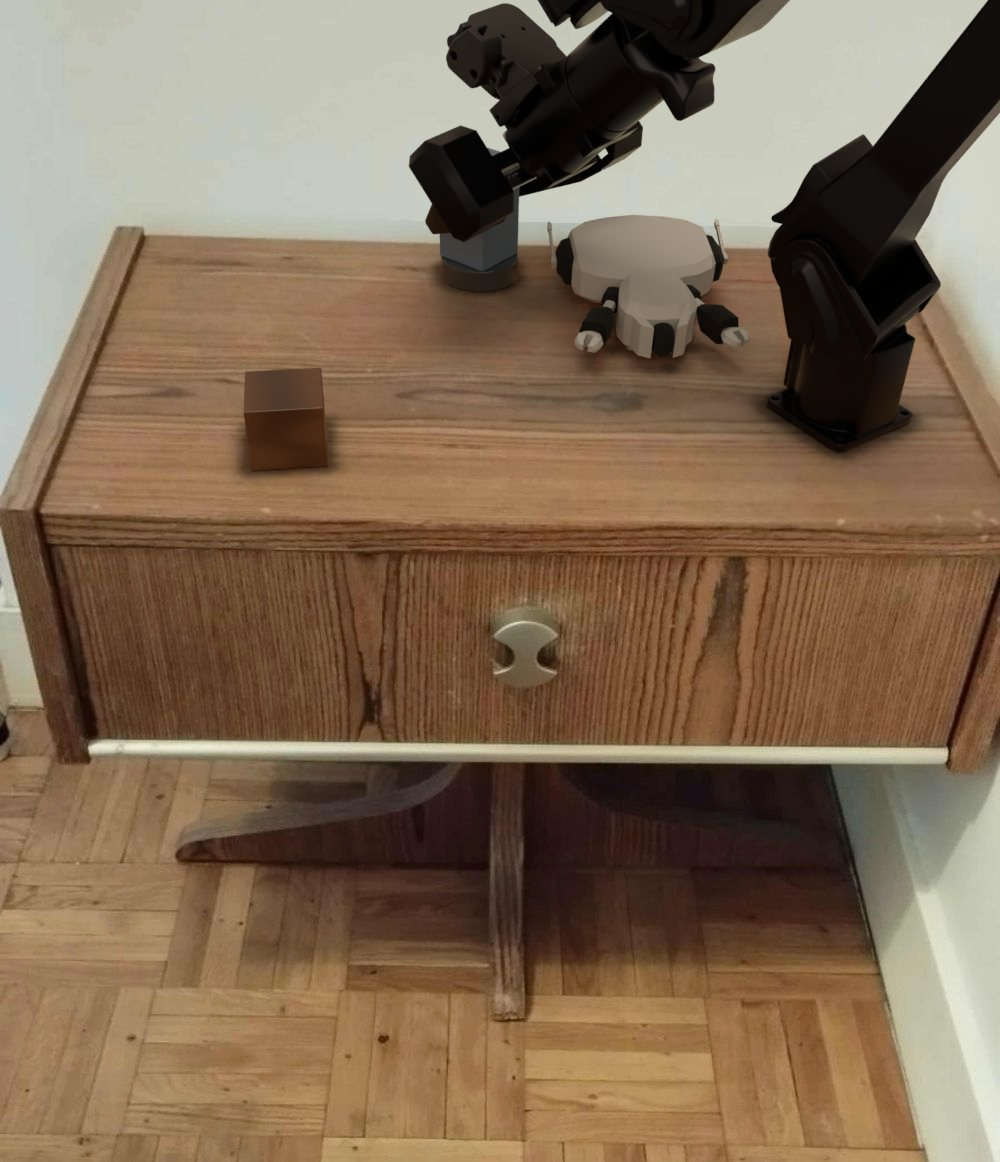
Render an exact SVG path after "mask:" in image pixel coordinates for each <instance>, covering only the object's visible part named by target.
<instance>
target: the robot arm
mask: <svg viewBox="0 0 1000 1162" xmlns="http://www.w3.org/2000/svg"><path fill="white" fill-rule="evenodd" d="M790 1H791V0H537V2H538V4H539V5H540V8H541V9H542V11H543V12H544V13H545V15H546V17H547V19H548V20H549V22H550V23H551V24H552V25H553V26H554V27H555V28H557V27H558V26H560V25H562V24H563V23H565V22H566V21H567V20H569V21H570V23H571V25H572V26H573V28H574V29H575V30H579V29H581V28H584V27H587V26H588V25H590V24H592V23H594V22H595V21H597V20H598V19H600V18H601V17H603V16H604V15H605V14H607V13H608V12H610V13H611V14H610V15H608V17H606V19H604V21H602V22H601V23H600V24H599V25H598V26H597V27H596V28H595V29H594V30H592V32H591V33H590V34H589V35H587V37H585V38H584V39H583V40H582V41H581V42H580V43H579V44H578V45H577V46H576V47H575V48H574V49H572V51H570V52H569V53H568V54H567V55H566V54H565V53H564V52H563V50H561V48H560V47H559V46H558V44H557V42H556V40H555V39H554V38H553V37H552V36H551V35H550V34H549V33H548V32H547V31H545V30H544V29H543V28H542V27H541V26H540V25H539V24H537V22H535V21H534V20H533V19H532V18H531V17H530V16H529V15H527V14H526V12H524V11H523V10H522V9H521V8H520V7H518V6H516V5H514V4H511V3H507V2H503V3H500V4H499V3H498V4H496V5H494V6H490V7H488V8H485V9H482V10H479V11H476V12H474V13H471V14H470V15H469V16H468V18H467V21H464V22H462V23H460V24H459V25H458V28H457V30H456V31H455V32H454V33H453V34H450V35H448V37H447V38H446V45H447V47H448V49H447V53H446V55H445V60H446V65H447V68H448V69H449V70H450V71H451V72H452V73H453V74H454V75H455V76H456V77H457V78H458V79H459V80H461V81H462V82H463V83H464V84H465V85H466V86H467V87H468V88H470V89H477V88H482V89H483V90H484V91H485V92H486V93H487V94H489V96H491V97H492V98H494V99H496V100H498V101H497V102H495V104H493V106H492V107H491V108H489V112H490V114H491V115H492V118H493V119H494V120H495V122H496V124H497V126H499V128H502V127H505V129H506V130H505V131H504V132H503V133H502V137H503V139H504V141H505V143H506V144H507V146H508V148H506V149H503V150H502V151H500V153H498V154H495V155H493V156H492V155H491V153H490V152H489V150H488V149H487V148H488V147H487V145H486V144H485V142H484V140H483V139H482V137H481V136H480V134H479V132H478V131H477V129H473V128H470V127H467V126H464V125H461V124H460V125H458V126H456V127H454V128H451V129H448V130H446V131H444V132H442V133H440V134H437V135H435V136H432V137H430V138H428V139H425V140H424V141H423V142H422V143H421V144H420V145H419V146H418V147H417V148H416V149H415V150H414V151H413V152H412V153H411V154H410V155H409V158H408V159H409V161H408V168H409V170H410V171H411V172H412V174H413V176H414V178H415V179H416V180H417V182H418V184H419V186H420V188H421V189H422V190H423V193H425V195H426V197H427V198H428V200H429V201H430V203H431V205H430V207H429V210H428V212H427V215H426V217H425V220H424V223H425V225H426V227H427V228H428V230H429V231H430V233H431V234H432V235H440V234H445V233H451V235H452V237H453V238H455V239H457V240H460V241H462V242H465V241H467V240H469V239H471V238H473V237H475V236H477V235H479V234H481V233H483V232H485V231H487V230H489V229H490V228H492V227H494V226H496V225H498V224H500V223H502V222H504V221H505V218H506V217H508V216H509V215H510V214H511V213H512V212H514V191H513V190H514V189H516V188H518V187H519V198H521V197H524V196H528V195H532V194H535V193H540V192H544V191H545V192H546V191H549V190H553V189H556V188H561V187H565V186H570V185H573V184H577V183H581V182H583V181H585V180H587V179H589V178H591V177H594V176H595V175H596V174H598V173H601V172H602V171H605V170H606V169H608V168H611V167H612V166H614V165H616V164H619V163H620V162H622V161H624V160H626V159H627V158H628V157H629V156H631V155H632V154H633V153H634V152H636V151H637V150H638V149H640V148H641V147H642V143H643V132H644V127H643V125H642V124H641V122H640V121H641V120H642V119H643V118H644V117H645V116H647V115H648V114H649V113H651V111H653V110H654V109H655V108H657V106H659V105H660V104H661V103H662V102H664V103H665V105H666V106H667V108H668V110H669V112H670V113H671V114H672V117H673V118H674V119H675V120H676V121H677V122H682V121H684V120H686V119H688V118H690V117H692V116H695V115H696V114H698V113H700V112H702V111H703V110H707V108H709V107H711V106H713V105H714V104H715V83H714V76H715V73H716V66H715V64H714V63H712V62H706V61H703V60H702V59H701V57H703V56H705V55H707V54H710V53H712V52H714V51H716V50H719V49H721V48H723V47H725V46H728V45H729V44H731V43H734V42H737V41H738V40H740V39H743V38H745V37H747V36H749V35H752V34H753V33H757V32H758V31H761V29H763V28H764V27H765V26H767V25H768V24H769V23H770V22H771V21H772V20H773V19H774V18H775V17H776V16H777V14H779V12H780V11H781V10H782V9H783V8H784V7H786V5H787V4H788V3H789V2H790ZM999 115H1000V0H987V1H986V2H985V3H984V4H983V6H982V7H981V8H980V10H978V12H977V13H976V14H975V15H974V17H973V18H972V20H970V22H969V23H968V25H967V26H966V27H965V28H964V30H963V31H962V32H961V34H960V35H959V36H958V38H956V40H955V41H954V42H953V43H952V45H951V46H950V47H949V49H948V50H947V52H946V53H945V54H944V55H943V57H941V59H940V61H938V63H937V64H936V65H935V66H934V68H933V69H932V70H931V72H930V73H929V74H928V75H927V77H926V78H925V79H924V81H922V83H921V84H920V85H919V87H918V88H917V90H916V91H915V92H914V93H913V94H912V96H911V97H910V99H909V100H908V101H907V102H906V103H905V105H904V106H903V107H902V109H901V110H900V111H899V113H898V114H897V115H896V117H894V119H893V120H892V121H891V122H890V124H889V125H888V126H887V128H886V129H885V130H884V131H883V133H882V134H881V135H880V137H879V138H878V139H877V140H876V142H874V144H872V143H871V141H870V140H869V139H868V137H867V136H866V135H865V134H861V135H859V136H857V137H856V138H854V139H852V140H851V141H849V142H848V143H846V144H845V145H843V146H841V147H839V148H838V149H837V150H834V151H833V152H832V153H830V154H828V155H827V156H825V157H823V158H821V159H820V160H819V161H817V162H815V163H813V165H811V167H810V168H809V170H808V171H807V173H806V175H805V176H804V178H803V180H802V182H801V184H800V186H799V188H798V189H797V191H796V194H795V195H794V197H793V199H792V200H791V201H790V202H789V203H788V204H787V205H786V207H784V208H782V209H781V210H779V211H778V212H776V213H774V214H773V215H772V216H771V218H770V219H771V221H772V222H773V223H777V224H780V226H778V227H777V229H775V231H774V233H773V235H772V237H771V239H770V241H769V245H768V249H767V256H768V258H769V259H770V266H771V267H770V268H771V272H772V275H773V277H774V279H775V281H776V284H777V286H778V287H779V292H780V298H781V304H782V310H783V311H782V312H783V316H784V322H785V329H786V334H787V337H788V339H789V340H790V342H789V349H788V354H787V360H786V365H785V369H784V375H783V376H784V377H783V383H782V384H783V386H784V387H785V388H784V389H782V390H779V391H777V392H774V393H772V394H769V395H768V396H767V397H766V398H767V399H766V402H765V404H766V406H767V407H769V408H770V409H772V410H773V411H774V412H776V413H778V414H779V415H780V416H782V417H783V418H785V419H787V420H788V421H790V422H791V423H792V424H794V425H796V426H797V427H799V428H800V429H802V430H803V431H805V432H806V433H807V434H809V435H811V436H812V437H814V438H815V439H817V440H818V441H820V442H821V443H823V444H824V445H826V446H827V447H829V448H830V449H832V450H834V451H837V452H843V451H847V450H849V449H851V448H853V447H856V446H858V445H861V444H863V443H865V442H867V441H870V440H873V439H874V438H877V437H879V436H881V435H883V434H886V433H889V432H891V431H893V430H895V429H898V428H900V427H902V426H904V425H907V424H909V423H910V422H911V421H912V418H913V412H912V411H911V410H909V409H908V408H906V407H904V406H903V405H901V404H900V402H901V398H902V393H903V391H904V386H905V382H906V378H907V373H908V371H909V367H910V362H911V359H912V354H913V350H914V346H915V343H916V337H915V336H913V335H911V334H910V333H908V328H907V326H906V324H907V323H908V322H909V321H910V320H911V319H912V318H914V317H915V316H916V315H917V314H920V313H922V312H923V311H924V310H925V309H926V308H927V307H928V305H929V304H930V302H932V300H933V298H934V297H935V295H936V294H937V293H938V291H939V290H940V289H941V286H942V285H941V280H940V278H939V277H938V275H937V273H936V272H935V270H934V268H933V267H932V265H931V264H930V262H929V260H928V258H927V257H926V254H924V251H923V250H922V248H921V247H920V245H919V243H918V241H917V240H916V238H917V236H918V234H919V233H920V231H921V229H923V226H924V225H925V224H926V221H927V220H928V218H929V217H930V215H931V212H932V211H933V210H932V209H933V207H934V205H935V202H936V199H937V197H938V195H939V192H940V189H941V187H942V184H943V182H944V180H945V179H946V177H947V175H948V174H949V173H950V171H952V169H953V167H954V166H956V165H957V164H958V162H959V161H960V160H961V159H962V157H963V156H964V155H965V154H966V153H967V151H969V149H970V148H971V147H972V146H973V145H974V144H975V142H976V141H977V140H978V139H979V138H980V137H981V135H982V134H983V133H984V132H985V131H986V130H987V129H988V128H989V126H990V125H991V124H993V122H994V121H995V119H996V118H997V117H998V116H999ZM603 150H605V151H606V153H607V154H605V155H604V156H603V157H602V158H601V156H600V155H599V154H600V153H602V152H603ZM519 166H520V168H519V169H517V170H515V171H513V172H511V173H508V174H507V175H503V174H504V173H506V172H508V171H511V170H513V169H515V168H517V167H519Z"/></svg>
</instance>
